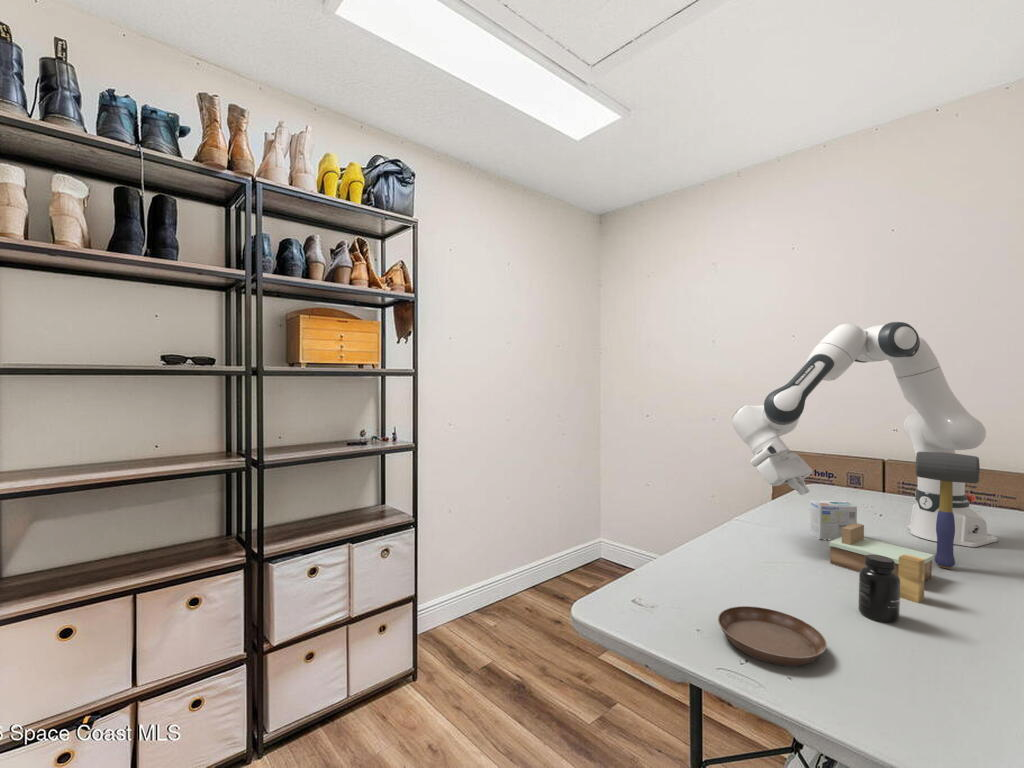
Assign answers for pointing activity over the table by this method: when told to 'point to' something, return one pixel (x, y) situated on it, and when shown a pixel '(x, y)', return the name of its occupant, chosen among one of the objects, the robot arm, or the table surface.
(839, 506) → the light bulb box
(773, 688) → the table surface
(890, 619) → the supplement bottle
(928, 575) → the wooden box base
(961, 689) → the table surface
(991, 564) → the table surface
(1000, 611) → the table surface
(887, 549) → the lid
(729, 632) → the plant saucer
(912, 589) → the light wooden block
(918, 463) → the rubber mallet
